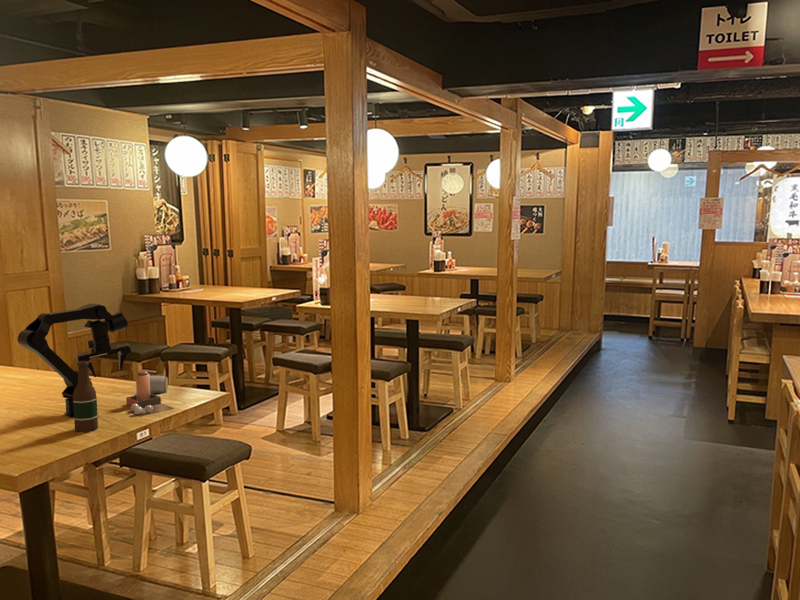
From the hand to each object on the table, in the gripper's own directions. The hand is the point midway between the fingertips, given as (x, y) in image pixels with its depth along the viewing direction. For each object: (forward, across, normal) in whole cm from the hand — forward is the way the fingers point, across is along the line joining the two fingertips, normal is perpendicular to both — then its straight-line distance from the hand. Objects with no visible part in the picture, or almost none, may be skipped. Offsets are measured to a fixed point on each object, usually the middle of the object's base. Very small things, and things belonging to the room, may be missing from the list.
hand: (108, 374), depth 243 cm
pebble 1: (+10, -5, +16) cm, 20 cm away
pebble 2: (+10, -6, +21) cm, 24 cm away
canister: (+13, -10, +8) cm, 18 cm away
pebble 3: (+11, -9, +21) cm, 25 cm away
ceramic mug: (+16, -18, -10) cm, 26 cm away
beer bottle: (+10, +13, +26) cm, 31 cm away
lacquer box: (+14, -10, +8) cm, 18 cm away
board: (+13, -10, +17) cm, 24 cm away
